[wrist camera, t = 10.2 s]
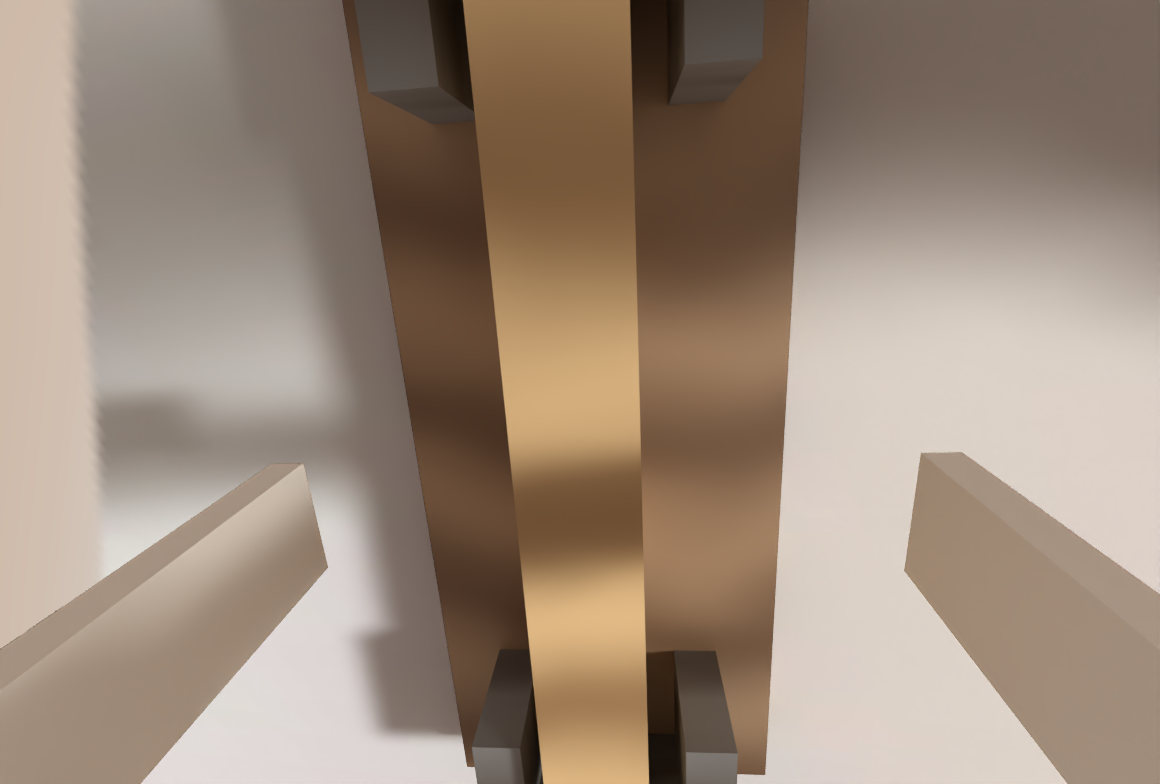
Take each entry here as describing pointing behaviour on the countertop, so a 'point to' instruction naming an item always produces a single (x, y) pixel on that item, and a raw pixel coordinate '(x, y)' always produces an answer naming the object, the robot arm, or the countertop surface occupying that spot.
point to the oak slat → (569, 362)
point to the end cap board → (666, 361)
